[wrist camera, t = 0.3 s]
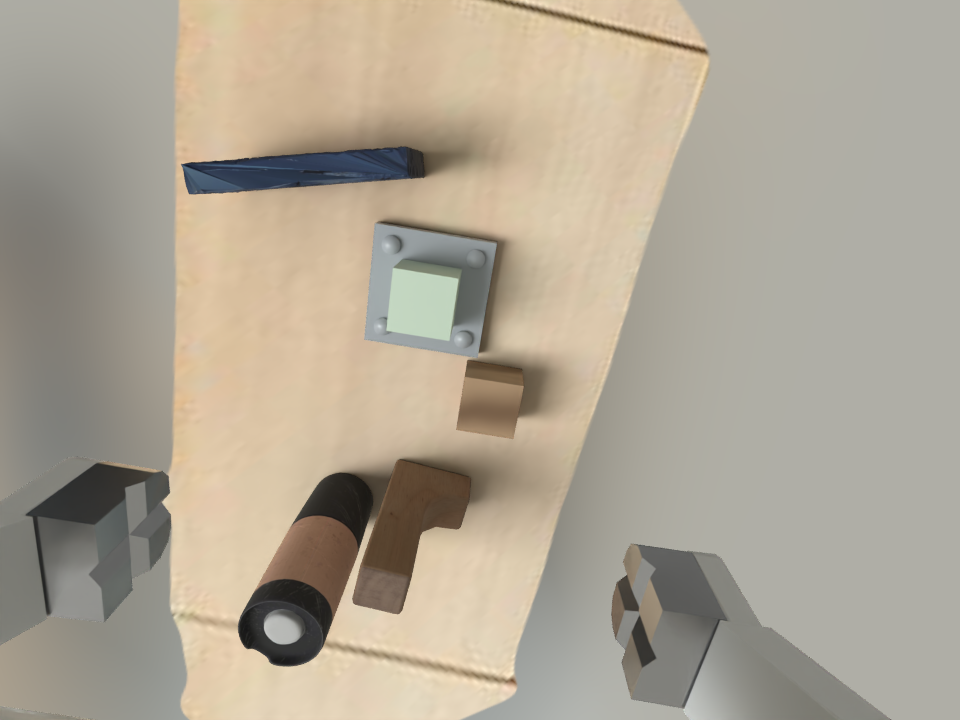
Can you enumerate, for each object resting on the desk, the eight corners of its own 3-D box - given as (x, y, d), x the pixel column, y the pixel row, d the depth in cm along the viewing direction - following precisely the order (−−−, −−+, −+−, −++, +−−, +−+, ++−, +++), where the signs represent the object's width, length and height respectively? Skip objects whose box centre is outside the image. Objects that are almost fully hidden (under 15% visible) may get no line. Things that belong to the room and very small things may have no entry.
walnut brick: (467, 359, 58) (464, 376, 53) (521, 368, 58) (524, 386, 53) (459, 409, 60) (456, 429, 55) (512, 417, 60) (513, 438, 55)
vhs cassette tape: (424, 150, 51) (407, 146, 41) (426, 183, 52) (411, 186, 42) (235, 159, 52) (177, 157, 42) (241, 191, 53) (186, 196, 43)
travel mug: (371, 469, 63) (316, 597, 44) (379, 523, 65) (332, 667, 46) (307, 472, 63) (226, 600, 44) (318, 526, 66) (246, 669, 47)
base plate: (378, 221, 53) (374, 223, 51) (496, 241, 53) (496, 244, 52) (367, 335, 57) (363, 340, 55) (478, 353, 57) (477, 359, 56)
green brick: (402, 259, 53) (392, 267, 48) (461, 269, 53) (458, 278, 48) (395, 316, 55) (386, 330, 50) (453, 326, 55) (449, 341, 50)
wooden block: (471, 476, 63) (462, 590, 46) (462, 507, 64) (449, 628, 47) (397, 457, 62) (359, 565, 45) (389, 489, 64) (350, 605, 47)
